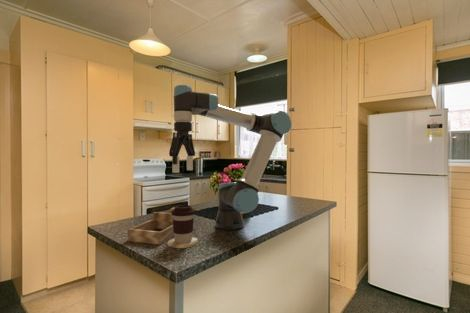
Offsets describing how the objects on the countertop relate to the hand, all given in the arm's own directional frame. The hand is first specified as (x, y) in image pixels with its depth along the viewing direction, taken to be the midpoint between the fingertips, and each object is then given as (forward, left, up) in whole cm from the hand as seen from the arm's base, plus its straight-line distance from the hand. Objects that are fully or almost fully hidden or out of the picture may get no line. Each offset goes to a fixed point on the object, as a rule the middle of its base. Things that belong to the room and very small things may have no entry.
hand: (183, 171), depth 111 cm
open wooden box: (+16, -5, -31) cm, 35 cm away
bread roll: (+24, -38, -31) cm, 54 cm away
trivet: (0, +1, -31) cm, 31 cm away
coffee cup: (0, +1, -30) cm, 30 cm away
